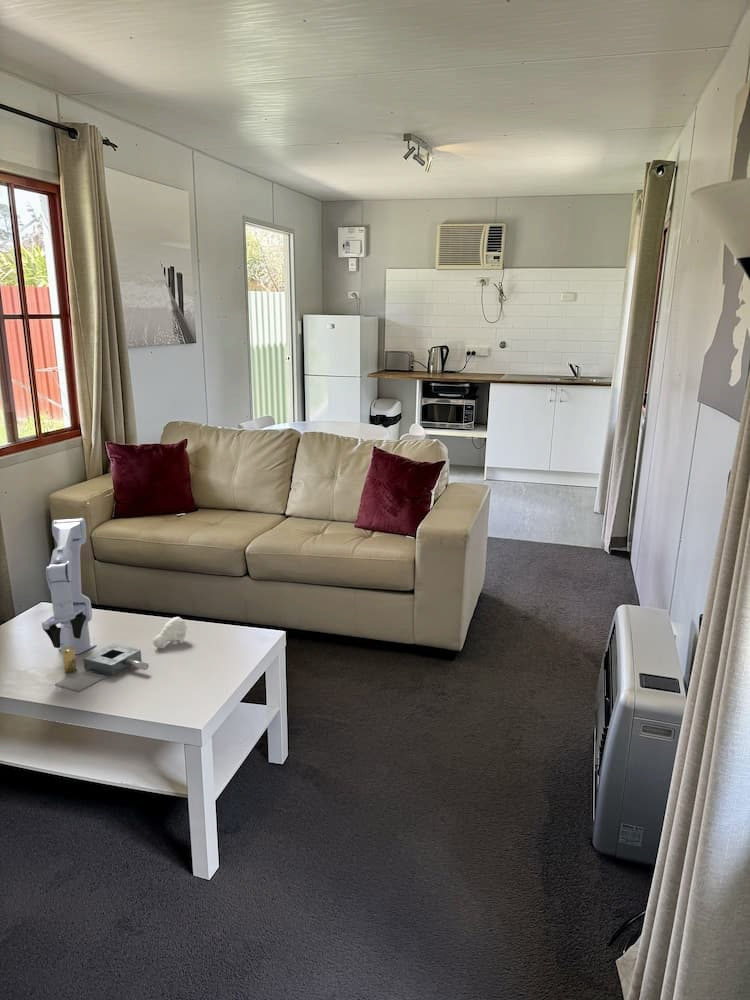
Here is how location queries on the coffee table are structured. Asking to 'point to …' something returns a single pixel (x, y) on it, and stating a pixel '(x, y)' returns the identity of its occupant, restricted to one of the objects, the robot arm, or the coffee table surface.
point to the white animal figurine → (171, 632)
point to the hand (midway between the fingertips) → (67, 642)
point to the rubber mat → (80, 681)
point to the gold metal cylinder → (69, 660)
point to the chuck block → (114, 660)
